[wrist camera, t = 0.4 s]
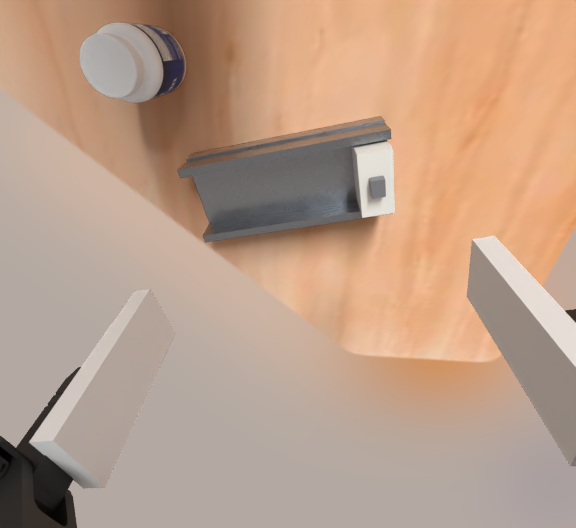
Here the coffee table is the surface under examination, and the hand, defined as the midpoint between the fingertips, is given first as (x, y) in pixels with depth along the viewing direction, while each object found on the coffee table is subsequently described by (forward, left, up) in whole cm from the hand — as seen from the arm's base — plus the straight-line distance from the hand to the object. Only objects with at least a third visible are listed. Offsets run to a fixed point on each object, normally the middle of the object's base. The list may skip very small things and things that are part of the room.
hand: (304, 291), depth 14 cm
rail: (+3, -3, -25) cm, 25 cm away
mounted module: (+3, +6, -23) cm, 24 cm away
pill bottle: (-10, -13, -25) cm, 30 cm away
